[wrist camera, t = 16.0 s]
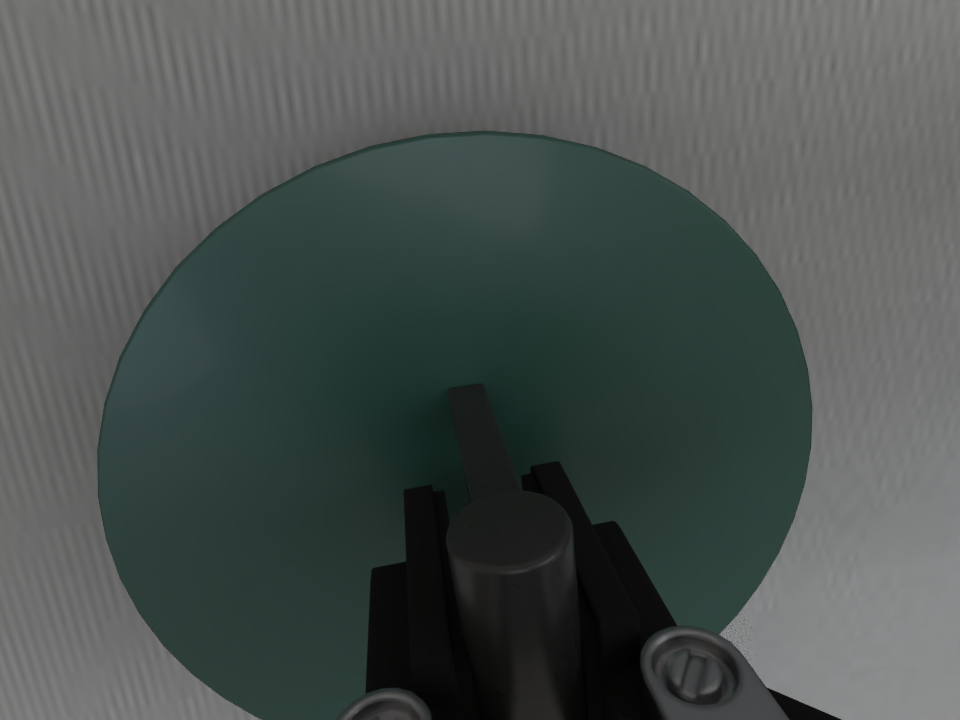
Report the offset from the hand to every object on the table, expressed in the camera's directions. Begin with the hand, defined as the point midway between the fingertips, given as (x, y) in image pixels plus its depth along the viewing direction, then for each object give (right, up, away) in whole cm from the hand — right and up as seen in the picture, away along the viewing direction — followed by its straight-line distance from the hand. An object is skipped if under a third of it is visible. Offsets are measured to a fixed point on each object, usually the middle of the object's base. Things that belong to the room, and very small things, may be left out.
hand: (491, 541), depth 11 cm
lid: (0, +1, +2) cm, 2 cm away
